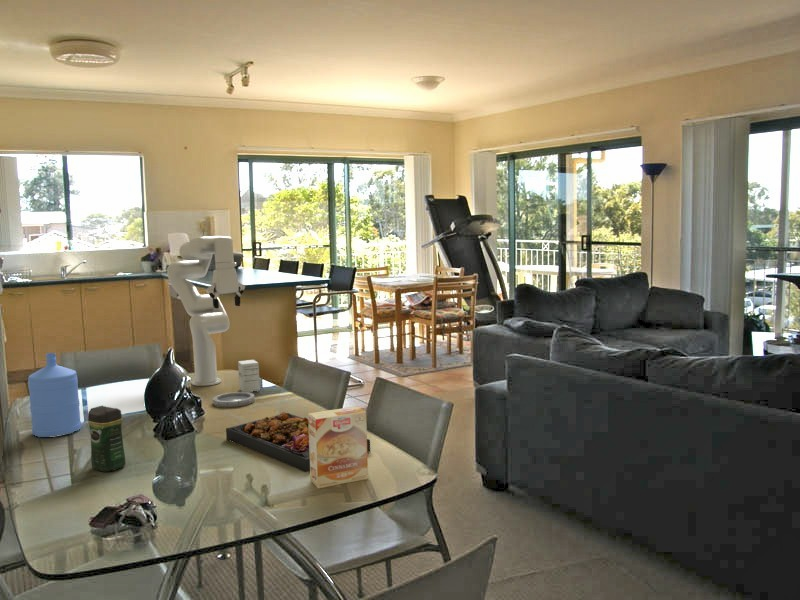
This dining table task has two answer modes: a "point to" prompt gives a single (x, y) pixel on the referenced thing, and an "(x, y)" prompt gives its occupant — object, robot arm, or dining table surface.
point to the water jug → (54, 400)
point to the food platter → (277, 439)
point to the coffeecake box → (338, 446)
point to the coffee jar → (106, 438)
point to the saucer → (233, 399)
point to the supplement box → (248, 376)
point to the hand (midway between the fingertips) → (227, 307)
